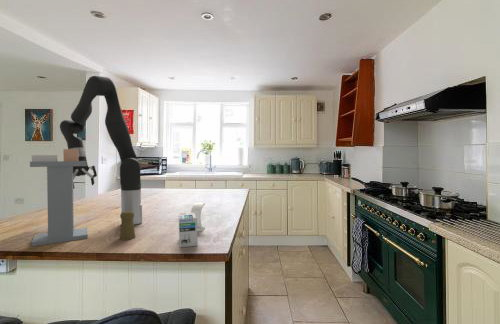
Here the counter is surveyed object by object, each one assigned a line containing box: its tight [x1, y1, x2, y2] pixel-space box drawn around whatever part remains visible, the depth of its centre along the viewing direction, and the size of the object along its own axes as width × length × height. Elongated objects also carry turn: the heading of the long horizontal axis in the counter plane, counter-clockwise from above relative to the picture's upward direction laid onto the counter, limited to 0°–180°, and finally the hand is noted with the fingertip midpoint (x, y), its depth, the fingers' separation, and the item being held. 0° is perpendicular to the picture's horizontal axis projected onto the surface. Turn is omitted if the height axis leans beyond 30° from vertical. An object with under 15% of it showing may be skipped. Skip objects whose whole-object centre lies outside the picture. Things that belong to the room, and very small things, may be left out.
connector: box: [62, 148, 78, 161], centre depth 114 cm, size 5×17×5 cm, turn 33°
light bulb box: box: [178, 212, 198, 248], centre depth 100 cm, size 11×7×11 cm, turn 17°
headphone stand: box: [190, 202, 206, 232], centre depth 118 cm, size 5×6×12 cm
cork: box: [118, 211, 136, 241], centre depth 107 cm, size 6×6×11 cm
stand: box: [29, 154, 89, 247], centre depth 107 cm, size 18×13×34 cm
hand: (83, 186), depth 136 cm, fingers open, 8 cm apart
